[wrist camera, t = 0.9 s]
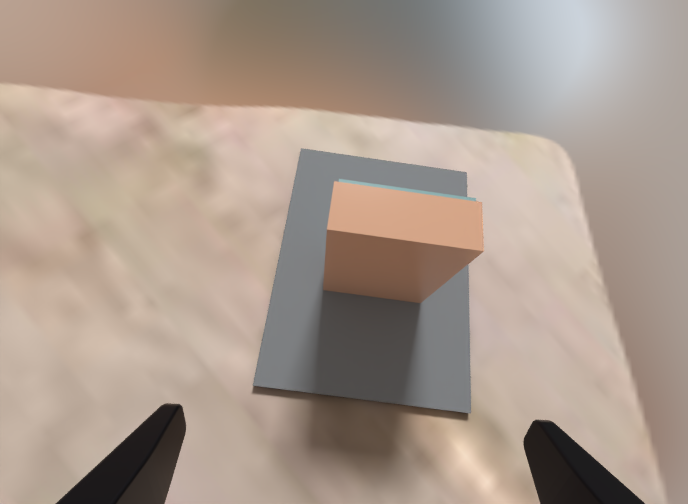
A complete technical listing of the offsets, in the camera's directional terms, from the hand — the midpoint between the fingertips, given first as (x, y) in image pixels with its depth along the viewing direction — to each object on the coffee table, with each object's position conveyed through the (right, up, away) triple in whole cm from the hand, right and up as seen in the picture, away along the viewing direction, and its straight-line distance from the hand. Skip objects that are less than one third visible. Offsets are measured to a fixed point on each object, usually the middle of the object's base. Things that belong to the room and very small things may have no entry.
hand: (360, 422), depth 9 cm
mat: (+2, +3, +17) cm, 17 cm away
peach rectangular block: (+2, +2, +16) cm, 16 cm away
